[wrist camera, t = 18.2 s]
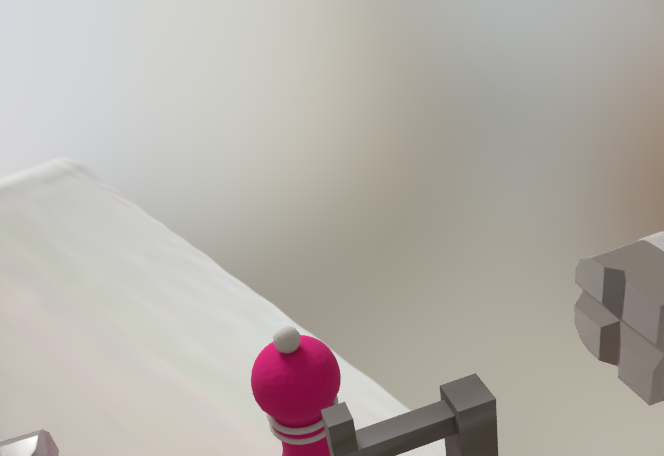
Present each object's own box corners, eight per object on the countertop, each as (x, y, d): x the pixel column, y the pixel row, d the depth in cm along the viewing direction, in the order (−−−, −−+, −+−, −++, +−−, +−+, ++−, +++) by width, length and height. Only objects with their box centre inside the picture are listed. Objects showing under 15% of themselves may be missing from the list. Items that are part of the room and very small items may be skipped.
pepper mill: (392, 550, 48) (357, 341, 39) (302, 590, 46) (242, 382, 37) (356, 479, 54) (318, 284, 45) (275, 513, 52) (219, 317, 43)
